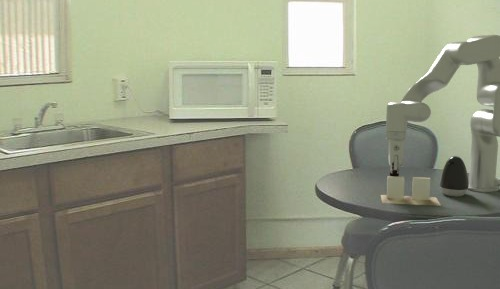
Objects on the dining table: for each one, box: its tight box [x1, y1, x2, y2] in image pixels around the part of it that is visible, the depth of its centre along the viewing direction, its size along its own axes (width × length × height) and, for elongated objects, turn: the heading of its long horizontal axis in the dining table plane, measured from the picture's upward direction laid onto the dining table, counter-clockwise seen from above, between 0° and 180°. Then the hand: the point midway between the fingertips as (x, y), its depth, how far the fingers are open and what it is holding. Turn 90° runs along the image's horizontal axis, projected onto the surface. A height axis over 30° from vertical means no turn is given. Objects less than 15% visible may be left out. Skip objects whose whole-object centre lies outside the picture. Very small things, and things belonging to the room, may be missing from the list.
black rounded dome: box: [438, 155, 469, 198], centre depth 190 cm, size 10×10×15 cm
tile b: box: [386, 175, 406, 199], centre depth 185 cm, size 6×2×8 cm, turn 78°
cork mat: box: [380, 194, 442, 207], centre depth 183 cm, size 20×11×1 cm, turn 78°
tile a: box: [411, 176, 432, 200], centre depth 184 cm, size 6×2×8 cm, turn 78°
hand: (393, 182), depth 192 cm, fingers closed
